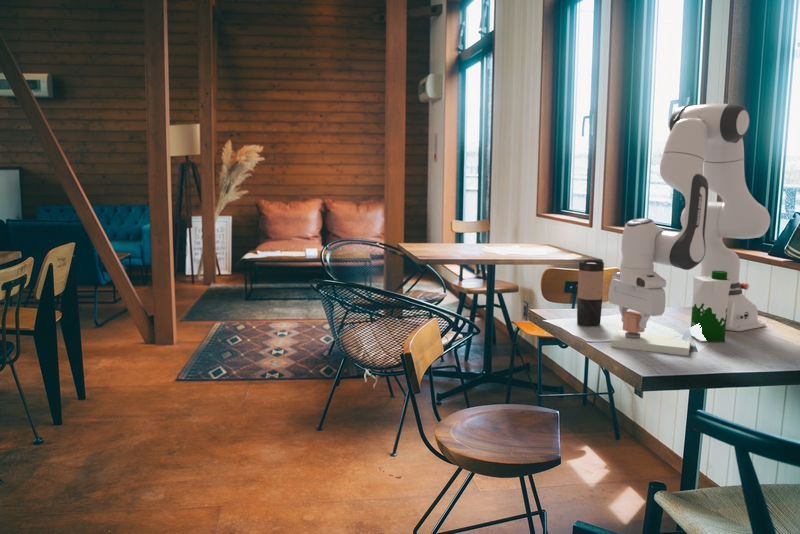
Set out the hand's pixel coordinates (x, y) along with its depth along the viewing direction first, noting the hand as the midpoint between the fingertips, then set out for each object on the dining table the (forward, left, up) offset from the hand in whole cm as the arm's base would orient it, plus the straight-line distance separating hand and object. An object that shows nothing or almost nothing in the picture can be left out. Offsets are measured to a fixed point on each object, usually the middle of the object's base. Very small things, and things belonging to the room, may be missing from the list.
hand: (633, 325), depth 192 cm
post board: (-3, +4, -6) cm, 7 cm away
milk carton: (-24, +3, -6) cm, 25 cm away
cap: (0, 0, -2) cm, 2 cm away
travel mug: (-2, -24, -6) cm, 25 cm away
